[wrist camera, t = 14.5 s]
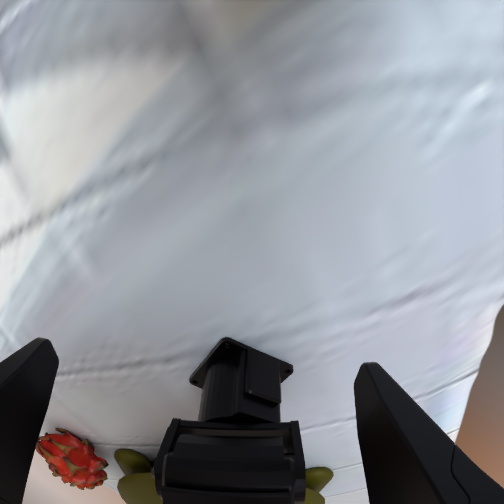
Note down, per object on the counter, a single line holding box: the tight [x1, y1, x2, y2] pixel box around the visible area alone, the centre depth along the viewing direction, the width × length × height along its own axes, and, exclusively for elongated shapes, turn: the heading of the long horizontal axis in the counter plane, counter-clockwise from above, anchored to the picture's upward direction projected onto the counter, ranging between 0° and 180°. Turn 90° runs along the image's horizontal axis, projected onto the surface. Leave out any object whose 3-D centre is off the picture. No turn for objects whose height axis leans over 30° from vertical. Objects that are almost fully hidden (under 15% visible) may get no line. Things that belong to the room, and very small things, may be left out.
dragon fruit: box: [36, 428, 109, 490], centre depth 33 cm, size 8×8×12 cm
